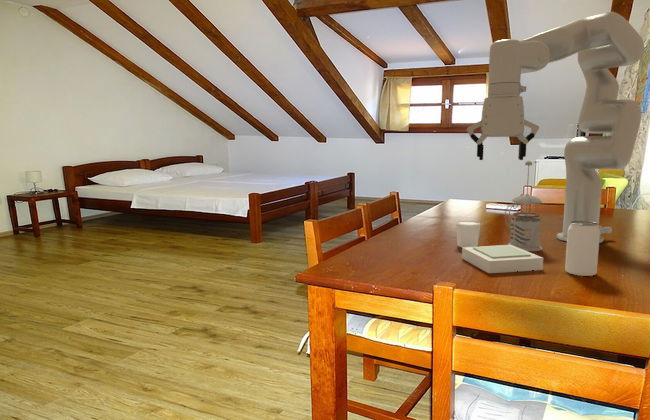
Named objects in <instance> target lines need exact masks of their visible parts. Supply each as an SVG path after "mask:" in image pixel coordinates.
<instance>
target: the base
mask: <svg viewBox="0 0 650 420" xmlns="http://www.w3.org/2000/svg"><path fill="white" fill-rule="evenodd" d="M461 248H462V249H461V259H462V260H464V261H466V262H468V263H469V264H471V265H473V266H475V267H476V268H478V269H480V270H482V271H484V272H485V273H487V274H498V273H499V274H500V273H501V274H502V273H515V272H517V271H518V272H531V271H532V270H534V271H543V269H544V257H542V256H539V255H537V254H535V253H533V252H531V251H525V250H523V249H520V248H518V247H515V246H513V245H507V244H502V245H501V244H500V245H486V246H485V245H484V246H483V245H481V246H477V247H461Z"/></svg>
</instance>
